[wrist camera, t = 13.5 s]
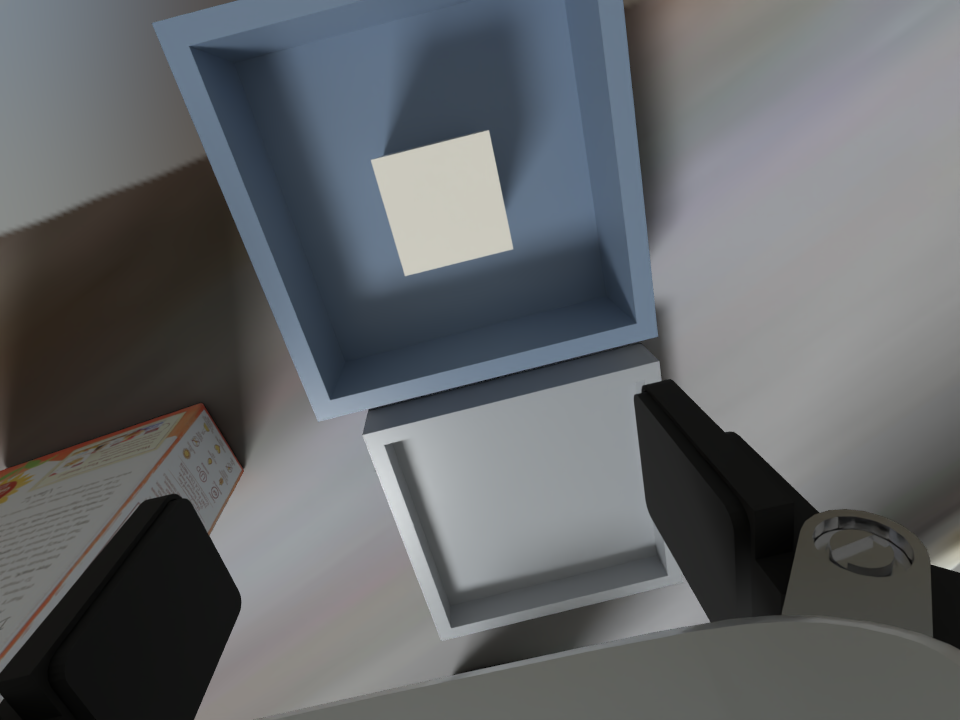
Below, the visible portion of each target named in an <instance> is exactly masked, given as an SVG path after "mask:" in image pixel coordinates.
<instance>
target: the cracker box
mask: <svg viewBox="0 0 960 720" xmlns="http://www.w3.org/2000/svg"><path fill="white" fill-rule="evenodd" d="M243 472H244V470H243V468H242V466H241V465H240V463H239V461H238V460H237V458H236V457H235V455H234V453H233V452H232V450H231V448H230V447H229V445H228V443H227V442H226V440H225V439H224V437H223V435H222V434H221V432H220V430H219V429H218V427H217V426H216V424H215V423H214V421H213V419H212V418H211V416H210V415H209V413H208V411H207V410H206V408H205V406H204V405H203V404H202V403H200V404H196V405H193V406H190V407H187V408H184V409H181V410H178V411H176V412H173V413H170V414H167V415H163V416H160V417H157V418H154V419H152V420H149V421H146V422H143V423H140V424H137V425H134V426H131V427H128V428H125V429H122V430H120V431H117V432H114V433H111V434H108V435H105V436H102V437H99V438H96V439H93V440H90V441H87V442H84V443H81V444H78V445H75V446H72V447H69V448H66V449H63V450H60V451H57V452H54V453H51V454H49V455H45V456H42V457H40V458H37V459H34V460H31V461H28V462H25V463H22V464H19V465H16V466H13V467H10V468H7V469H5V470H2V471H0V673H1V671H2V670H3V669H4V668H5V666H6V665H7V664H8V663H9V662H10V660H11V659H12V658H13V657H14V656H15V654H16V653H17V652H18V651H19V650H20V648H21V647H22V646H23V645H24V644H25V642H26V641H27V640H28V639H29V638H30V636H31V635H32V634H33V633H34V632H35V630H36V629H37V628H38V627H39V626H40V624H41V623H42V622H43V621H44V620H45V618H46V617H47V616H48V615H49V614H50V612H51V611H52V610H53V609H54V608H55V606H56V605H57V604H58V603H59V601H60V600H61V599H62V598H63V597H64V595H65V594H66V593H67V592H68V591H69V589H70V588H71V587H72V586H73V585H74V583H75V582H76V581H77V580H78V579H79V577H80V576H81V575H82V574H83V573H84V571H85V570H86V569H87V568H88V567H89V565H90V564H91V563H92V562H93V561H94V559H95V558H96V557H97V556H98V555H99V553H100V552H101V551H102V550H103V549H104V547H105V546H106V545H107V544H108V542H109V541H110V540H111V539H112V538H113V536H114V535H115V534H116V533H117V532H118V530H119V529H120V528H121V527H122V526H123V524H124V523H125V522H126V521H127V520H128V518H129V517H130V516H131V515H132V514H133V512H134V511H135V510H136V509H137V508H138V506H139V505H140V504H141V503H142V502H143V501H145V500H148V499H152V498H156V497H161V496H165V495H169V494H178V495H179V496H181V497H182V498H186V499H188V500H189V501H190V502H191V503H192V505H193V506H194V508H195V510H196V512H197V514H198V516H199V518H200V520H201V521H202V523H203V525H204V527H205V529H206V531H207V533H208V534H209V536H210V534H211V532H212V530H213V528H214V526H215V524H216V522H217V521H218V519H219V517H220V515H221V513H222V511H223V509H224V508H225V506H226V504H227V502H228V500H229V498H230V496H231V494H232V493H233V491H234V489H235V487H236V485H237V483H238V481H239V480H240V477H241V476H242V474H243ZM3 699H4V698H3V697H2V695H1V694H0V703H1V701H2V700H3Z"/></svg>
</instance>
